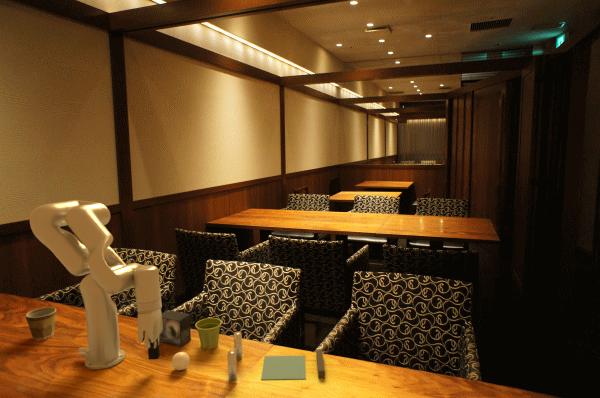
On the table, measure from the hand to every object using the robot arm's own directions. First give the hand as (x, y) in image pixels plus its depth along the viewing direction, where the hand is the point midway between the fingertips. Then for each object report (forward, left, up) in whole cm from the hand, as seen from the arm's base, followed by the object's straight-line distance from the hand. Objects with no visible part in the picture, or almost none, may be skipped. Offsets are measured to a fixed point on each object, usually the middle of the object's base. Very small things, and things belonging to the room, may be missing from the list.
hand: (154, 358), depth 130 cm
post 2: (+26, +7, -4) cm, 28 cm away
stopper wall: (+54, 0, -4) cm, 55 cm away
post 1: (+26, -6, -4) cm, 27 cm away
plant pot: (+14, +16, -4) cm, 22 cm away
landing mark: (+42, 0, -4) cm, 43 cm away
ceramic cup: (-54, +26, -4) cm, 60 cm away
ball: (+8, 0, -1) cm, 8 cm away
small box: (0, +20, -4) cm, 20 cm away
